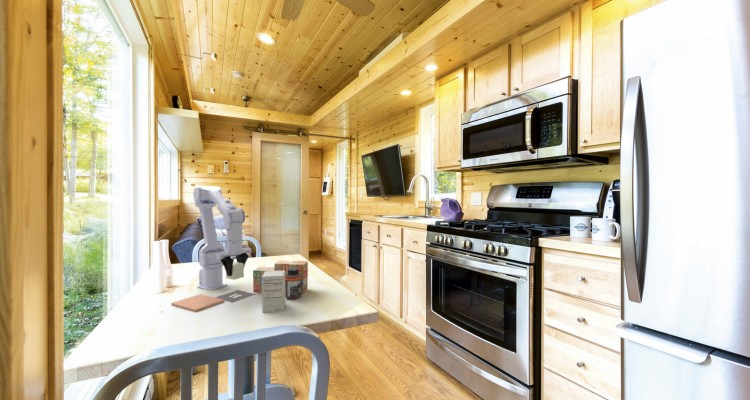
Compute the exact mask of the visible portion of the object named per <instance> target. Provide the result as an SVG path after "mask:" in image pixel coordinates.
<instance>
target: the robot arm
mask: <svg viewBox="0 0 750 400" xmlns="http://www.w3.org/2000/svg"><path fill="white" fill-rule="evenodd" d="M193 200H194V204H195V207H197V208H198V209H199V214H200V221H201V227H202V228H201V229H202V232H203V233H202V234H203V240H204V245H203V246H202V247H201V248H200V249H199V251H198V263H199V266H200V269H199V272H198V282H199V283H198V284H199V285H197V288H199V289H203V290H209V291H212V290H216V289H220V288H223V287H227V286H228V284H227V283H224V282H223V280H224V279H223V278H224V277H223V268H224V270H225V275H226V274H227V276H232V266H233V263H234V262H235V259H236V262H239V263H244V267H245V266H246V263H247V261H248V258H249V257H250V255H249V254H251V253H252V248H251V247H244V248H243V223H245V220H246V213H245V211H244V209H243V208H238V207H236V205H234V204H233V202H232V201H231V200H230V199H226V198H225V197H224V196H223V191H222V188H221V187H220V186H218V185H217V186H200V185H196V186H195V187H194V189H193ZM214 207H216V208H217V211H219V213H220V214H221V215H222V216H223V218H222V220H223V222H224V228H225V229H226V232H225V233H226V248H225V246H224V245H222V244H220V243H219V242H218V236H217V231H216V225H215V217H214V213H213V208H214ZM225 249H226V250H225ZM232 257H235V258H232Z"/></svg>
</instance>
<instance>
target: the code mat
mask: <svg viewBox="0 0 750 400" xmlns="http://www.w3.org/2000/svg"><path fill="white" fill-rule="evenodd" d="M255 295H256V293H255V292H249V291H248V292H247V291H243V290H240V289H237V290H233V291H230V292H227V293H225V294H221V295H217V296H215V297H214V298H219V299H223V300H224V302H229V303H231V304H233V303H235V302H237V301H241V300H244V299H248V298H249V297H252V296H255Z"/></svg>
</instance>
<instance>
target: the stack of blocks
mask: <svg viewBox="0 0 750 400" xmlns="http://www.w3.org/2000/svg"><path fill="white" fill-rule="evenodd" d="M308 262H309V261H308V260H307V261H305V260H278V261H277V262H275V263H274V267H273V266H272V267H271V266H269V267H268V266H259V267H256V268H255V269H254V270H253V269H252V278H253V279H252V281H253V283H252V284H253V288H252V289H253V290H252V291H253V292H252V293H262V276H263V274H264V272H265V271H285V277H286V275H287V274H288V269H289V268H298V273H299V274H300V275H301V295H303V294H304V292H305V293H306V292H307V290H308V287H309V286H308V285H309V284H308V283H309V281H308V280H309V279H308V277H309V273H308V272H309V271H308V270H309V265H308ZM285 294H286V285H285Z"/></svg>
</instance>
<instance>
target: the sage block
mask: <svg viewBox="0 0 750 400" xmlns="http://www.w3.org/2000/svg"><path fill="white" fill-rule="evenodd" d="M244 272H245V266H244V263H239V262H237V261H233V266H232V276H227V274H226V273H225V278H226V279H228V280H235V281H236V280H238V279H241V278H244V276H245V274H244Z"/></svg>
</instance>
